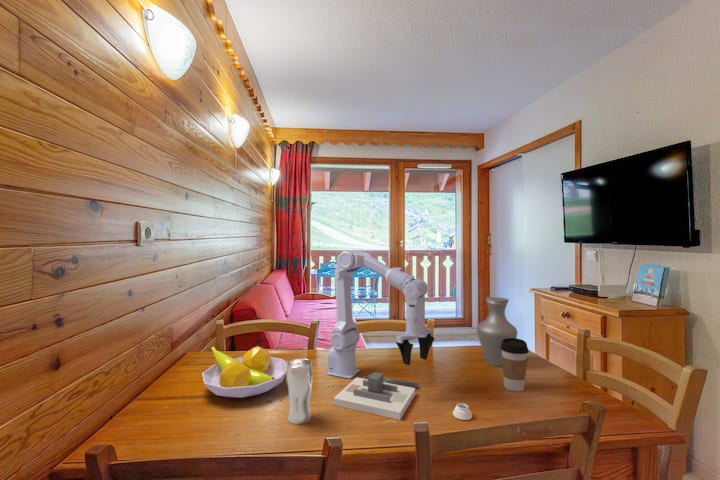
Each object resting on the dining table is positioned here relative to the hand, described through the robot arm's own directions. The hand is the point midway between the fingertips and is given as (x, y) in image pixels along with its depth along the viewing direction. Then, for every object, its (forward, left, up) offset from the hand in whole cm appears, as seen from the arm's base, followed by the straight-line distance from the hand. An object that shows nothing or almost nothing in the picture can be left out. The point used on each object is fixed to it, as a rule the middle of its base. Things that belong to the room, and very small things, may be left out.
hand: (415, 361), depth 107 cm
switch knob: (-10, -9, -8) cm, 15 cm away
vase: (+22, +37, -10) cm, 44 cm away
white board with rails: (-10, -7, -10) cm, 15 cm away
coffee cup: (+28, +17, -10) cm, 34 cm away
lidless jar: (+15, -8, -10) cm, 20 cm away
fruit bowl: (-52, -18, -10) cm, 56 cm away
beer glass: (-25, -27, -10) cm, 38 cm away
